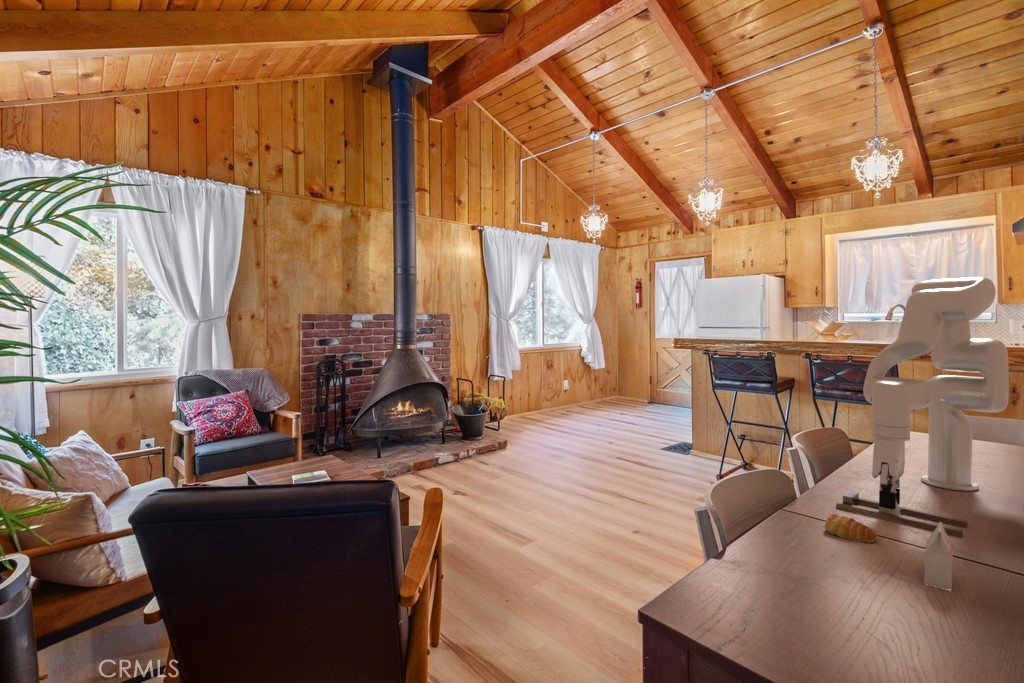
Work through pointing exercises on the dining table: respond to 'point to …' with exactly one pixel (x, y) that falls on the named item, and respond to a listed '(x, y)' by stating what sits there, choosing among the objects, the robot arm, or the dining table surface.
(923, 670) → the dining table surface
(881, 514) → the guide track
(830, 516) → the pastry
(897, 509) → the rook chess piece
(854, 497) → the end stop
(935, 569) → the white gable top carton
